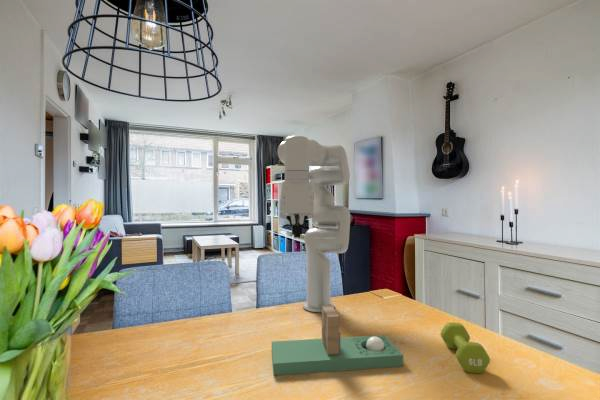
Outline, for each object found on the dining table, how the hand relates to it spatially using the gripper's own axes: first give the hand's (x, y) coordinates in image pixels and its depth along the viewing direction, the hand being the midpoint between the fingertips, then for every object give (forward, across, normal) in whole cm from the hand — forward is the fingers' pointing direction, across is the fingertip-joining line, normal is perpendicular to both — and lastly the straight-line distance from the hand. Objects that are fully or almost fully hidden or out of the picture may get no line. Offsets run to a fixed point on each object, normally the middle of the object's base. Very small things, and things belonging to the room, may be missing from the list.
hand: (296, 237), depth 98 cm
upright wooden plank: (+29, -8, +12) cm, 32 cm away
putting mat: (+32, -9, +12) cm, 35 cm away
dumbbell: (+32, -44, +16) cm, 57 cm away
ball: (+29, -21, +12) cm, 38 cm away
